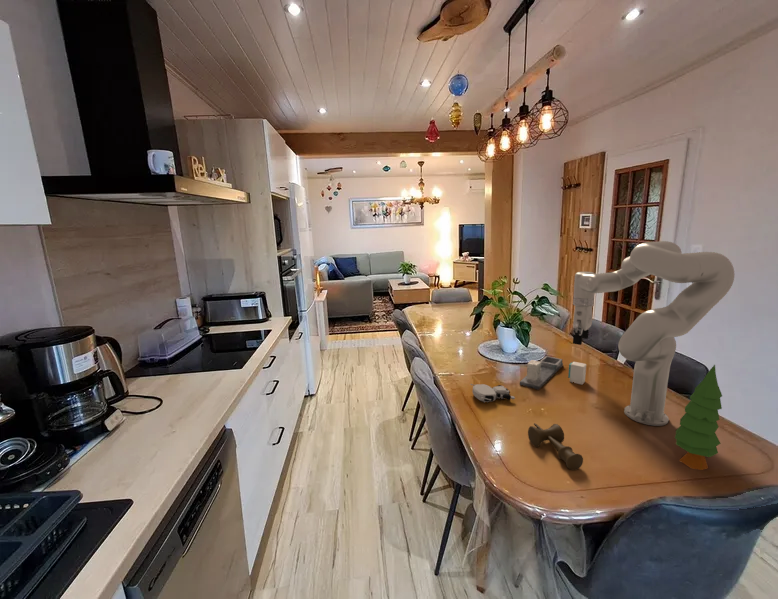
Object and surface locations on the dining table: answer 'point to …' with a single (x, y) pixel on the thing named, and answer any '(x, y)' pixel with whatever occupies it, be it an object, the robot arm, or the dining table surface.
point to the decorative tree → (700, 423)
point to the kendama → (555, 444)
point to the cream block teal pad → (577, 372)
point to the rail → (541, 371)
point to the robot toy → (490, 392)
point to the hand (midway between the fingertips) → (580, 341)
